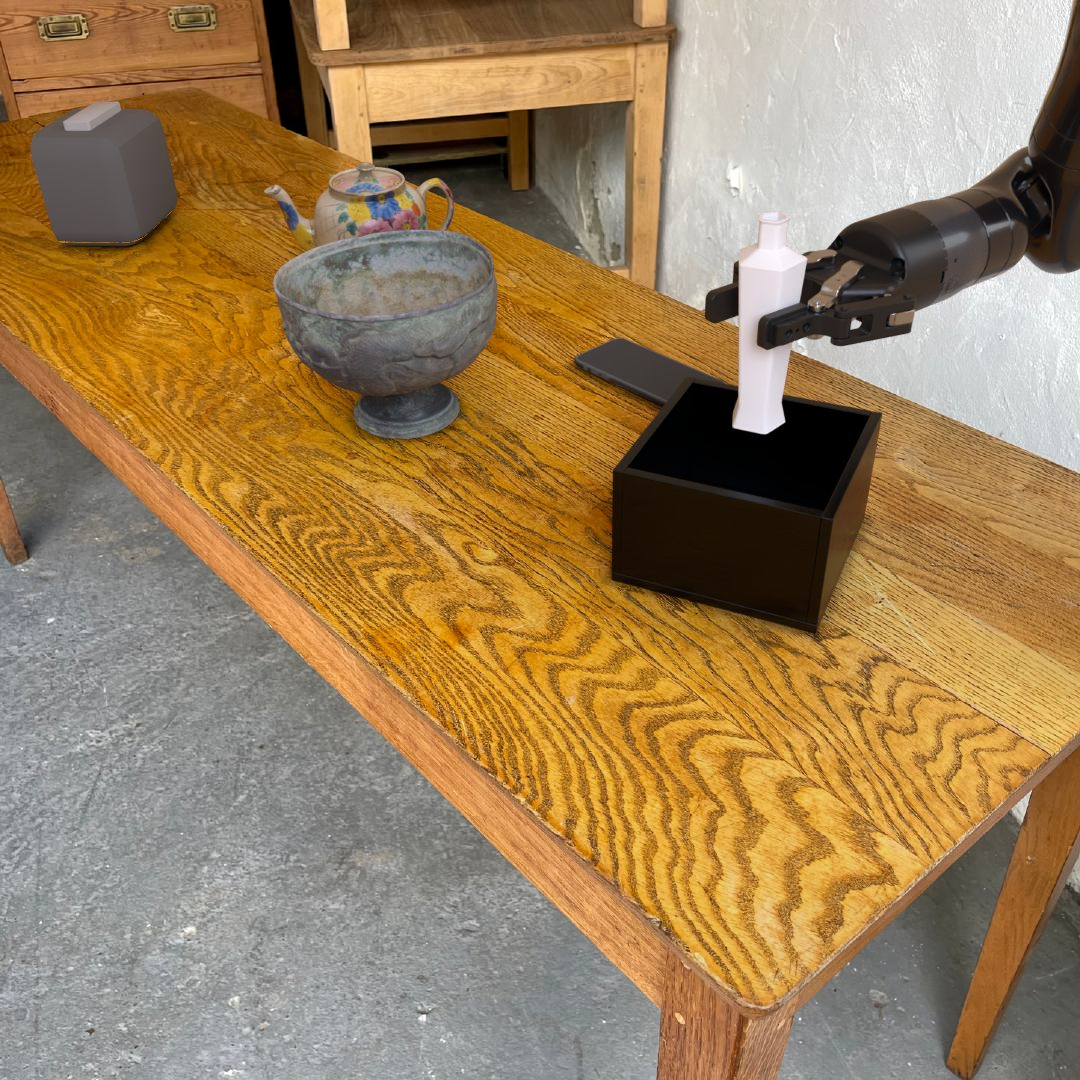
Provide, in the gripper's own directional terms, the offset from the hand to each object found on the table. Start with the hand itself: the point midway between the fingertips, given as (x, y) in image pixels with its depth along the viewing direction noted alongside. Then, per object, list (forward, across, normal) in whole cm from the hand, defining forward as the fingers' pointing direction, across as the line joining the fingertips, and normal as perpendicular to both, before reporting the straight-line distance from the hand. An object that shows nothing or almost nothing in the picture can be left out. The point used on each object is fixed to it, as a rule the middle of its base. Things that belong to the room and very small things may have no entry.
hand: (735, 321), depth 74 cm
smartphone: (-15, -27, +20) cm, 37 cm away
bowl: (+9, -35, +20) cm, 41 cm away
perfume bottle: (-3, 0, +9) cm, 9 cm away
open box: (-2, 0, +20) cm, 20 cm away
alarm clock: (+14, -103, +20) cm, 106 cm away
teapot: (-5, -69, +20) cm, 72 cm away
